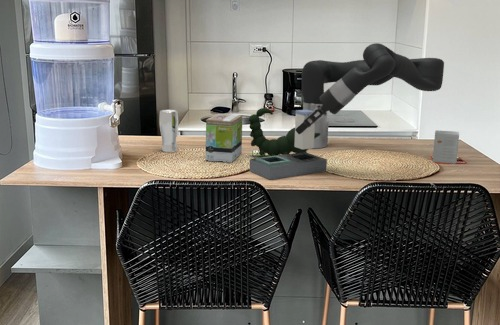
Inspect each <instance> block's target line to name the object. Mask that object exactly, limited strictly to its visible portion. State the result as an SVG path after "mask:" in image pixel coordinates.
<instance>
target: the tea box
mask: <svg viewBox="0 0 500 325" xmlns="http://www.w3.org/2000/svg"><path fill="white" fill-rule="evenodd" d="M242 145H243V115H242V114H229V113H228V114H227V113H216V114H214V115H213V116H210V117H209V118H207V119H206V120H205V158H204V159H205V161H206V160H208V161H207V162H216V161H223V162H222V163H232V162H233V161H235V160H236V159H237V158H238V157H240V155H242V152H243V151H242V150H243V149H242V148H243V147H242ZM226 161H227V162H226Z"/></svg>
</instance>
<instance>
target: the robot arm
mask: <svg viewBox="0 0 500 325" xmlns="http://www.w3.org/2000/svg"><path fill="white" fill-rule="evenodd" d="M362 57H363V59H359V60H358V59H357V60H351V61H346V62H341V61H330V60H329V61H328V60H323V59H322V60H321V59H319V60H318V59H317V60H311V61H308V62H306V63H305V64H304V66H303V67H302V71H301V95H302V98H303V99H302V100H303V104H302V110H311V111H313V112H311V113H310V114H309V115H308V118H307V119H306V120H304V121H303V123H302V124H301V125H300V126H298V127H297V128H296V129H295V130H296V132H297V133H298V134H301V133H302V132H303V131H304V130H306V129H307V128H308V127H310V126H311V125H312V124H313V123H314V124H315V132H314V133H320V135H319V136H318V137H316V138H315V139H314V148H313V149H322V148H325V147H328V143H329V142H328V141H329V140H328V139H329V138H328V137H329V122H328V121H327V116H328V112H329V113H330V114H332V115H336V114H338V113H339V112H340V111H342V109H343V108H345V107H346V106H347V105H348V104H349V103H350V102H351V101H353V99H354V98H355V97H356V96H357V95H358V94H359V93H360V92H362V91H363V90H364V89H365V88H366V87H367V86H380V85H383V84H385V83H387V82H388V81H391V79H393V78H397V79H400V80H402V81H404V82H405V83H407V84H408V85H410V86H412V87H413V88H415V89H416V90H420V91H424V92H436V91H439V90H440V89H441V88H442V86H443V80H444V70H445V61H444V60H443V59H441V58H438V57H423V58H422V57H421V58H409V57H406V56H404V55H402V54H399V53H396V52H395V51H393V50H392V49H390V47H387V46H386V45H384V44H382V43H379V42H378V43H377V42H375V43H371V44H369V45H368V46H366V47H365V49H364V50H363V53H362ZM328 83H329V84H330V83H333V84H332V85H331V86H330V87H328V89H326V91H325V84H328ZM308 119H310V120H311V121H312V123H311V124H310V123H309V121H308Z"/></svg>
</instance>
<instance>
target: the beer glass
mask: <svg viewBox="0 0 500 325" xmlns="http://www.w3.org/2000/svg"><path fill="white" fill-rule="evenodd" d="M158 117H159V118H158V119H159V120H158V121H159V122H158V123H159V130H160V135H161V150H160V151H161V152H162V151H163V152H162V153H175V152H178V143H177V139H178V138H177V137H178V132H179V114H178V110H177V109H161V110H159V116H158Z"/></svg>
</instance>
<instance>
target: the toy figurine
mask: <svg viewBox="0 0 500 325" xmlns="http://www.w3.org/2000/svg"><path fill="white" fill-rule="evenodd" d="M265 114H270V115H273V114H274V113H273V111H272V110H271V109H270V108H267V107H261V108H259V109H257V110H256V113H254V114H251V115H250V116H249V118H248V121H249V122H250V124H249V129H250V130H251V131H250V134H249V136H250V137H251V138H252V140H251V141H250V146H251V147H256V148H257V147H258V150H259V151H258V154H259V156H265V154H267V155H268V156H278V155H286V154H292V153H301V152H306V153H308V151H309V149H303V150H302V149H299V148H296V147H294V143H295V127H293V128H291V129H290V130H288V132H287V134H286V135H282V136H279V137H278V138H277V139H275V138H274V139H268V138H266V136H265V135H264V132H263V129H262V125H261V124H262V123H261V122H260V117H263V116H264V115H265ZM319 135H320V133H314V139H315V138H316V137H318V136H319Z"/></svg>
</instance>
